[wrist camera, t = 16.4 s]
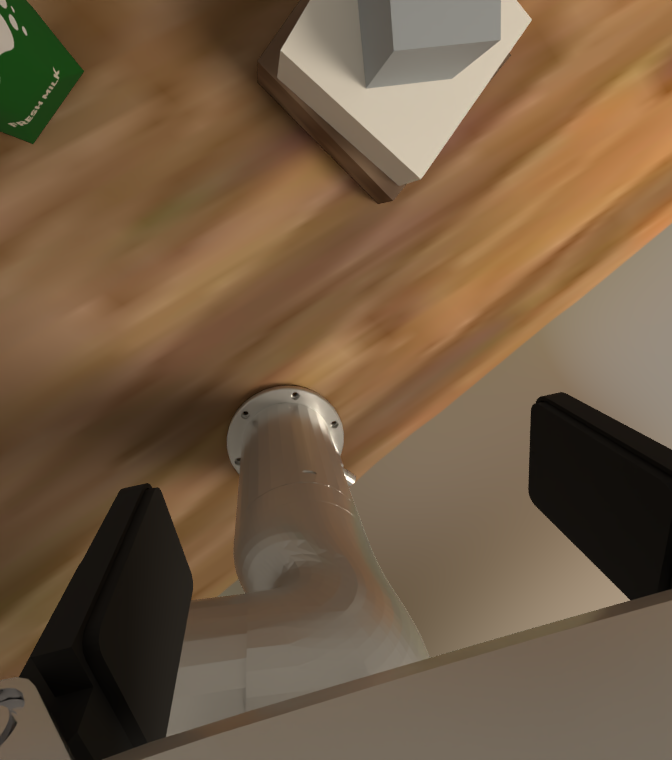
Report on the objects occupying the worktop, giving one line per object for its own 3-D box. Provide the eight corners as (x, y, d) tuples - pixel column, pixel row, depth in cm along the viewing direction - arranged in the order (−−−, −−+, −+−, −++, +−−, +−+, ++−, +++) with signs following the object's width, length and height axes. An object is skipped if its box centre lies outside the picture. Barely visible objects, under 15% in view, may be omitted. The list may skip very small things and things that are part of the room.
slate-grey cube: (448, -36, 25) (501, -111, 20) (452, 78, 28) (500, 39, 22) (354, -29, 25) (382, -105, 19) (365, 88, 27) (393, 51, 21)
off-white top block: (492, 50, 32) (531, 19, 27) (398, 185, 34) (420, 179, 29) (374, -87, 28) (397, -149, 23) (276, 77, 30) (280, 50, 25)
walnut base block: (479, 76, 37) (511, 55, 32) (377, 204, 39) (393, 200, 34) (367, -71, 32) (385, -122, 27) (257, 83, 34) (257, 61, 29)
